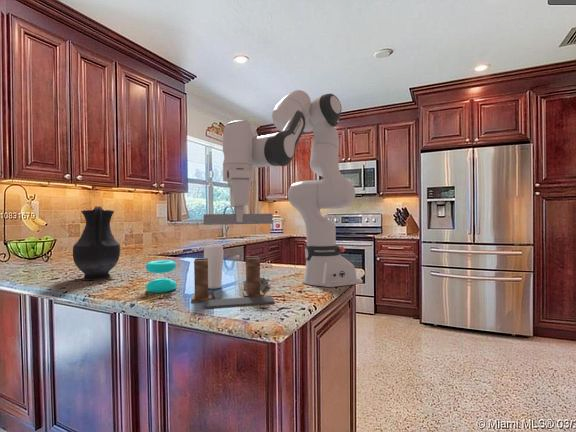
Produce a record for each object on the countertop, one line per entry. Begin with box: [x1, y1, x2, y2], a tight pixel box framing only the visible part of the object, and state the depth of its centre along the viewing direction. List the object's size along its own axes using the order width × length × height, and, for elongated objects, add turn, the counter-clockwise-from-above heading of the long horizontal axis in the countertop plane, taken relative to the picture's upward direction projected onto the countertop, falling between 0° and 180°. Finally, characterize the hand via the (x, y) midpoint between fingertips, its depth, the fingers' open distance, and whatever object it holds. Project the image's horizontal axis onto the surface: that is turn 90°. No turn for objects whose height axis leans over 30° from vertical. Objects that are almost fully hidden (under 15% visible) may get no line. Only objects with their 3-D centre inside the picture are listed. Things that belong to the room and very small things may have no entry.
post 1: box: [190, 257, 213, 303], centre depth 104 cm, size 6×6×12 cm
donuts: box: [145, 259, 177, 294], centre depth 117 cm, size 10×10×10 cm
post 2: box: [242, 255, 265, 298], centre depth 107 cm, size 6×6×12 cm
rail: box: [203, 213, 273, 226], centre depth 99 cm, size 20×3×3 cm, turn 103°
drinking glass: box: [203, 244, 224, 290], centre depth 120 cm, size 7×7×15 cm
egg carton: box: [242, 277, 270, 292], centre depth 118 cm, size 11×8×4 cm
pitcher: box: [72, 205, 121, 281], centre depth 139 cm, size 17×21×30 cm
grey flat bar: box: [204, 295, 276, 310], centre depth 99 cm, size 20×7×1 cm, turn 103°
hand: (238, 221), depth 99 cm, fingers closed on rail, 3 cm apart
